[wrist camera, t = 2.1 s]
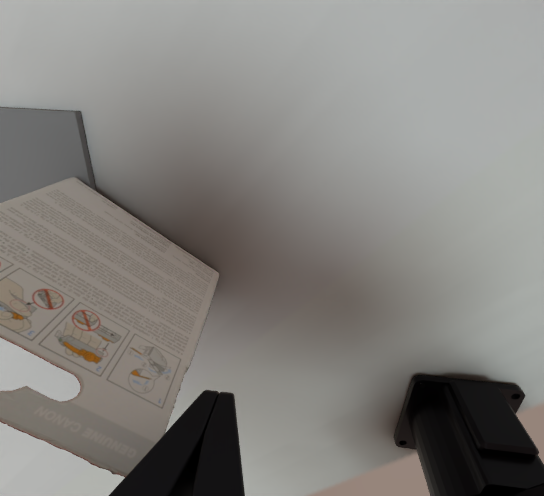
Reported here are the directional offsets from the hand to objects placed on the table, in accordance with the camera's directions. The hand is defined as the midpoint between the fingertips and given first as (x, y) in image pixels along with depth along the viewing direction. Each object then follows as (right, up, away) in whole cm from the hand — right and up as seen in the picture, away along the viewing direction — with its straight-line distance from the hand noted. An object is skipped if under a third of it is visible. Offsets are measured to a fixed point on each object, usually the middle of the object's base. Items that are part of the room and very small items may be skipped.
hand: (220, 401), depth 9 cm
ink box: (-6, +5, +9) cm, 12 cm away
